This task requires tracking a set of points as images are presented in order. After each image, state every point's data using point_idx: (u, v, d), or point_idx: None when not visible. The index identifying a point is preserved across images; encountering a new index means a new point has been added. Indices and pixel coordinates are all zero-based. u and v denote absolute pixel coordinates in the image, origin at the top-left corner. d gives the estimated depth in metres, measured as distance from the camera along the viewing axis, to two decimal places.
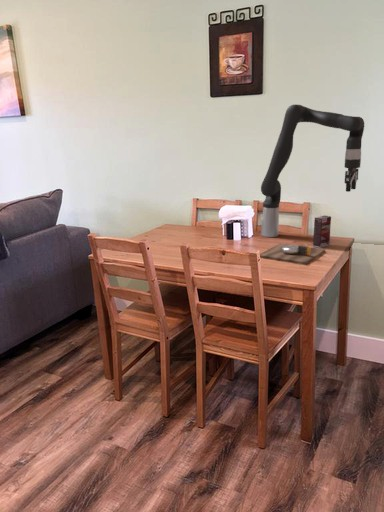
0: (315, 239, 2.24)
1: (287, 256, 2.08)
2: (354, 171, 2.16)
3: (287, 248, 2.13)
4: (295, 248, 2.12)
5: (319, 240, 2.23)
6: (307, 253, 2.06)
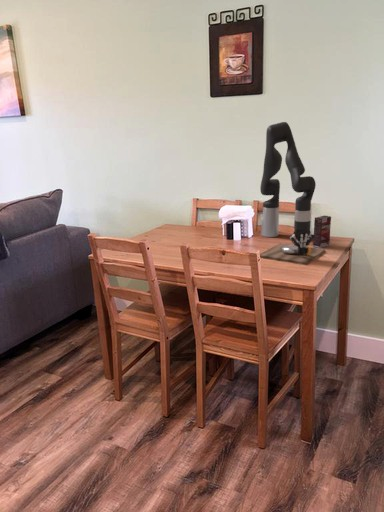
0: (315, 239, 2.24)
1: (287, 256, 2.08)
2: None
3: (287, 248, 2.13)
4: (295, 248, 2.12)
5: (319, 240, 2.23)
6: (307, 253, 2.06)
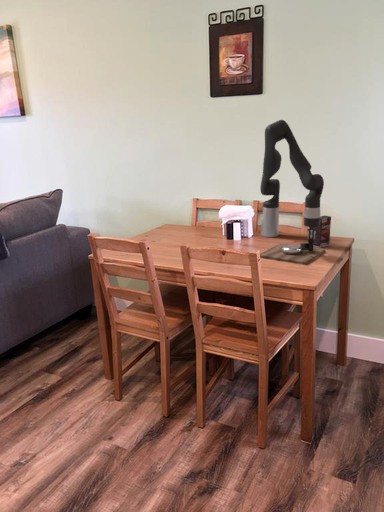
0: (315, 239, 2.24)
1: (287, 256, 2.08)
2: (309, 229, 2.08)
3: (292, 249, 2.11)
4: (297, 247, 2.14)
5: (319, 240, 2.23)
6: None
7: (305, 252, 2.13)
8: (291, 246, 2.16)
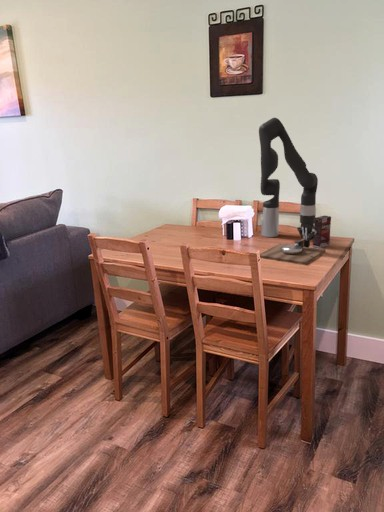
0: (315, 239, 2.24)
1: (287, 256, 2.08)
2: (306, 227, 2.14)
3: (296, 248, 2.11)
4: (295, 246, 2.15)
5: (319, 240, 2.23)
6: (303, 245, 2.20)
7: (305, 252, 2.13)
8: (289, 246, 2.15)
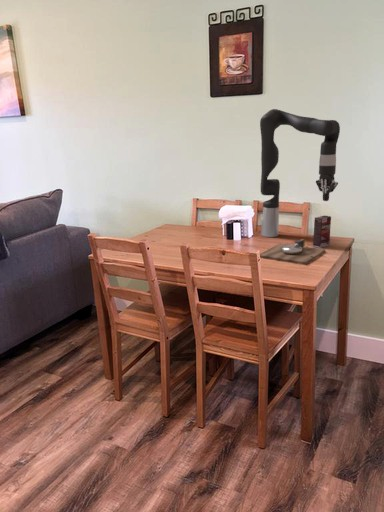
0: (315, 239, 2.24)
1: (287, 256, 2.08)
2: (325, 178, 2.02)
3: (296, 248, 2.11)
4: (295, 246, 2.15)
5: (319, 240, 2.23)
6: (303, 245, 2.20)
7: (305, 252, 2.13)
8: (289, 246, 2.15)
